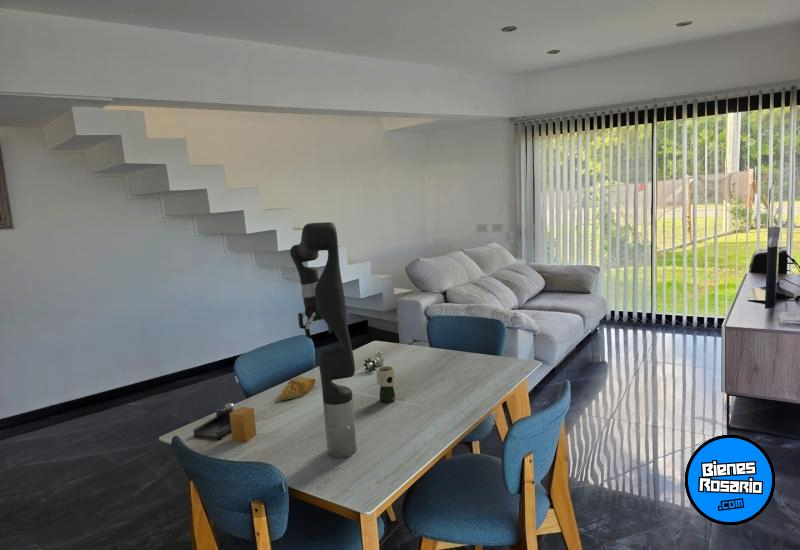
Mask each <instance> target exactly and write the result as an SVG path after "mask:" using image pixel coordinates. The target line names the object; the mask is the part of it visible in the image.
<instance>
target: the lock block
mask: <svg viewBox="0 0 800 550" xmlns="http://www.w3.org/2000/svg"><path fill="white" fill-rule="evenodd" d="M229 414H230V423H231V439H232V442H234V441H236V442H235V443H243V442H244V443H245V444H247V443H246V442H249V441H251V440H253V438H255V437H256V436H257V429H256V418H255V417H256V416H255V408H254V407H247V406H239V407H237V408H235V409H234V411H233V412H231V413H229ZM254 436H255V437H254ZM250 439H251V440H250Z"/></svg>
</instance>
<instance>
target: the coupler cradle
mask: <svg viewBox="0 0 800 550" xmlns="http://www.w3.org/2000/svg"><path fill="white" fill-rule="evenodd" d="M224 407H225V408H217V409H216V410H215V414H216V416H214V417H212V418H210V419H208V420H207V421H205V422H204V423H202V424H200V425H199V426H197V427H195V428H194V429H193V436H194V438H200V439H209V440H216V441H221V440H223V437H224V438H225V437H227V436H228V435H230V434H232V432H231V423H230V414H229V413H231V412H233V411H234V410H235V408H234V403H233V402H228V403H225V404H224ZM226 435H227V436H226ZM220 439H221V440H220Z"/></svg>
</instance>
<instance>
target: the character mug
mask: <svg viewBox="0 0 800 550" xmlns="http://www.w3.org/2000/svg"><path fill="white" fill-rule="evenodd" d="M395 376H396V371H395V367H394V366H392V365H384V366H381V367H376V384H377V386H379V387H380V388H379V400H380V401H381V402H384V403H387V402H388V403H389V402H390V403H391V402H393V401H394V400H396V393H395V388H394V385H395V384H396V377H395Z"/></svg>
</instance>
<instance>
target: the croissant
mask: <svg viewBox="0 0 800 550" xmlns="http://www.w3.org/2000/svg"><path fill="white" fill-rule="evenodd" d="M315 382H316V379H315V378H307V377H303V376H302V377H295V378H292V379H290V380H289V382H288V383H287V384H286V386H285V387H284V389H283V390H282V391H281V394H279V397H278V399H279V400H280V401H287V400H292V399H296V398H301V397H303V396H304V394H305V395H306V394H308V393H309V392H310V391H311V390H312V389H313V387H314V386H315ZM300 396H301V397H300Z"/></svg>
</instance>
